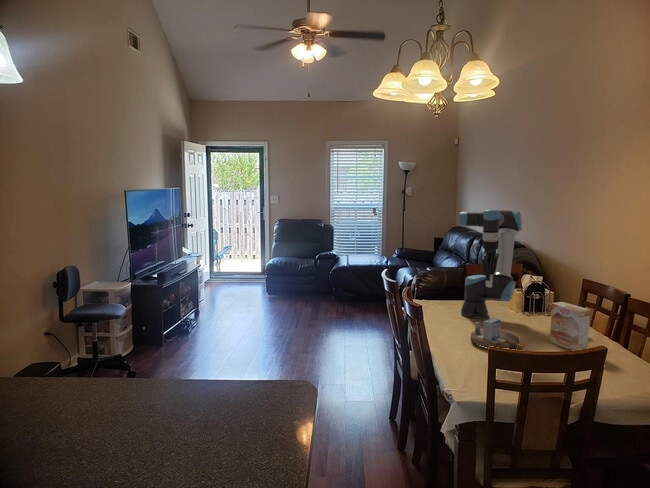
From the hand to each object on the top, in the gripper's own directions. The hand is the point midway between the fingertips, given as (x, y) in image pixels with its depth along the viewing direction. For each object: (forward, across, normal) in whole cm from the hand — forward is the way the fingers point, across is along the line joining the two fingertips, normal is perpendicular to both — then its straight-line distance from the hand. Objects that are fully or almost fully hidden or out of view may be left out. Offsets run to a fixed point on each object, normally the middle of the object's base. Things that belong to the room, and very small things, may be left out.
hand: (488, 286), depth 228 cm
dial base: (+24, -10, -13) cm, 30 cm away
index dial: (+23, -10, -11) cm, 27 cm away
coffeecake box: (+25, +13, -34) cm, 44 cm away
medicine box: (+21, -14, -11) cm, 28 cm away
